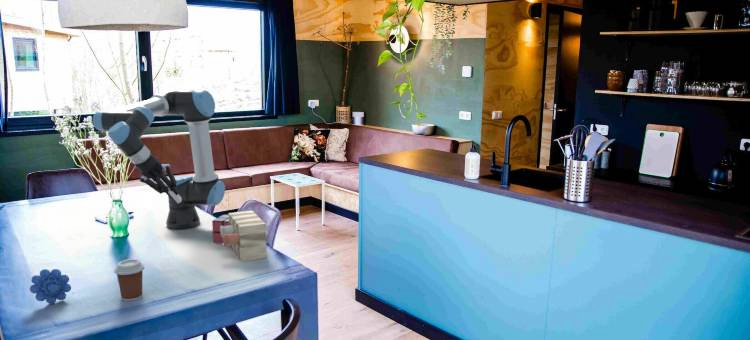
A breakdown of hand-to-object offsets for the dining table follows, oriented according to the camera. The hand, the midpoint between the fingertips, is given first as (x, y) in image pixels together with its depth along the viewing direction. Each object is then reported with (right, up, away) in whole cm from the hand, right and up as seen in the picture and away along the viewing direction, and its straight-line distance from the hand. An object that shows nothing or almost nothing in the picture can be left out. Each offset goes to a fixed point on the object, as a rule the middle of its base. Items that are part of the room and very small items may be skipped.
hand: (179, 200), depth 221 cm
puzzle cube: (+14, -19, +20) cm, 31 cm away
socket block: (+26, -21, +6) cm, 34 cm away
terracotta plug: (+25, -17, -2) cm, 30 cm away
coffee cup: (-2, -30, -38) cm, 49 cm away
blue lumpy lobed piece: (-25, -31, -43) cm, 59 cm away
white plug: (+21, -15, +9) cm, 27 cm away
